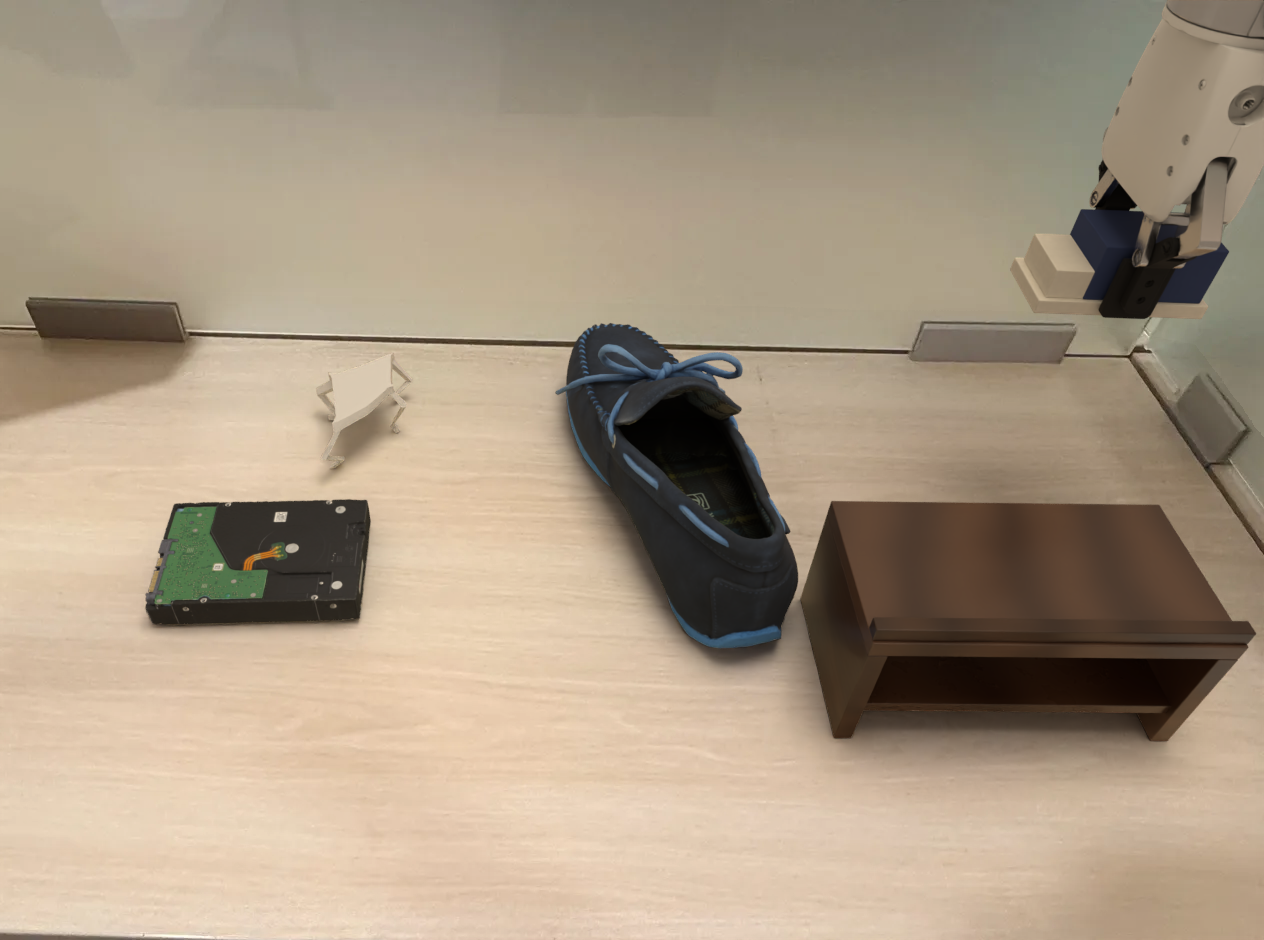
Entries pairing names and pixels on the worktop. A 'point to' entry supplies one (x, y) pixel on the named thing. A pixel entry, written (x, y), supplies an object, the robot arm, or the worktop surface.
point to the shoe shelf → (1013, 612)
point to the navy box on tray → (1105, 267)
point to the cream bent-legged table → (360, 395)
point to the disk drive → (261, 562)
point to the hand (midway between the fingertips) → (1106, 287)
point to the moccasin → (684, 482)
